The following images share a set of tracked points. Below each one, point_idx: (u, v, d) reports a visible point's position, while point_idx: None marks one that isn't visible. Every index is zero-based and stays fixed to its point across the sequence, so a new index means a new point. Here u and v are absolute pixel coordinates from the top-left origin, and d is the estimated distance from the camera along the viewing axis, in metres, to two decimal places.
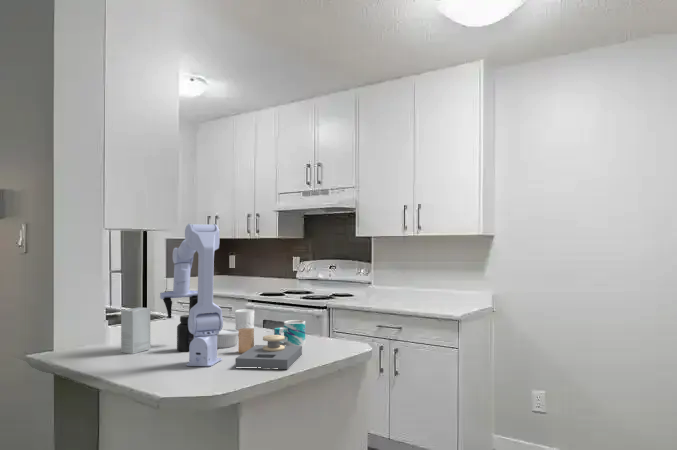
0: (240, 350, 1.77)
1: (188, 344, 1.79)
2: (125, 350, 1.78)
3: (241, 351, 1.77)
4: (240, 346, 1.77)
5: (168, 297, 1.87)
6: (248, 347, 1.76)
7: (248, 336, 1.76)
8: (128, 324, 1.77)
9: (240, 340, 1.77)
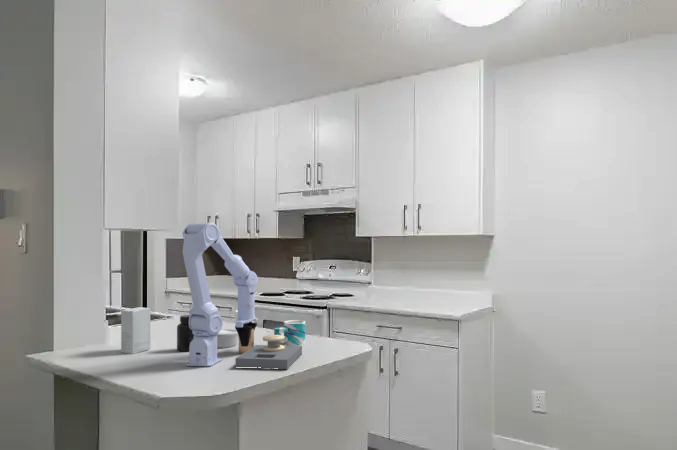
0: (240, 350, 1.77)
1: (188, 344, 1.79)
2: (125, 350, 1.78)
3: (241, 351, 1.77)
4: (240, 346, 1.77)
5: None
6: (248, 347, 1.76)
7: None
8: (128, 324, 1.77)
9: None
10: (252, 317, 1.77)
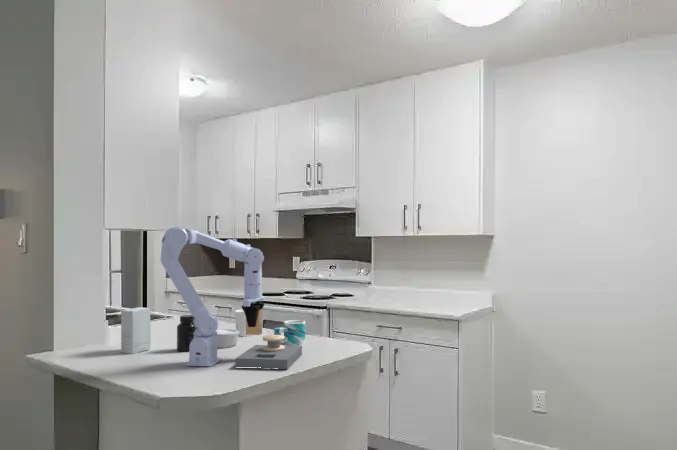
0: (247, 331, 1.68)
1: (188, 344, 1.79)
2: (125, 350, 1.78)
3: (249, 333, 1.68)
4: (247, 327, 1.68)
5: None
6: (256, 328, 1.68)
7: (256, 317, 1.68)
8: (128, 324, 1.77)
9: None
10: (259, 296, 1.68)
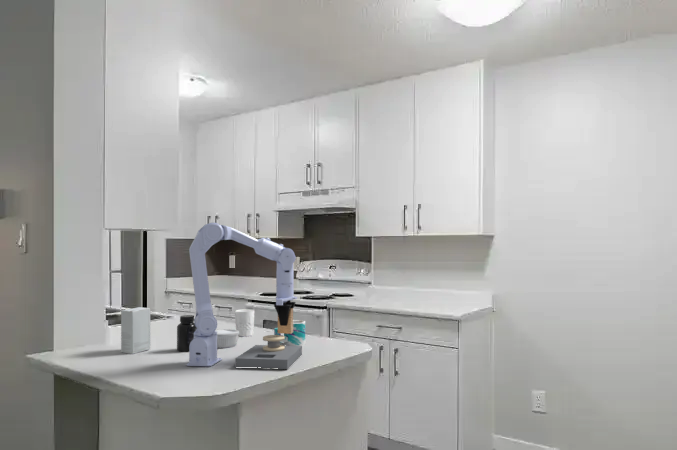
0: (279, 330, 1.71)
1: (188, 344, 1.79)
2: (125, 350, 1.78)
3: (281, 331, 1.71)
4: (279, 326, 1.71)
5: None
6: (288, 327, 1.71)
7: (288, 316, 1.71)
8: (128, 324, 1.77)
9: None
10: (291, 295, 1.71)
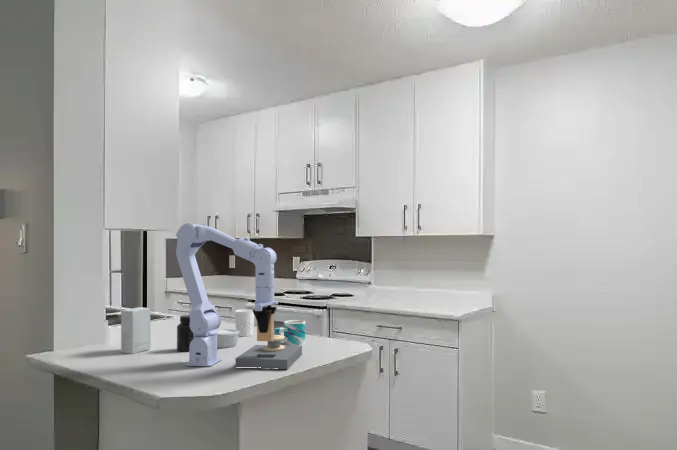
0: (259, 338, 1.57)
1: (188, 344, 1.79)
2: (125, 350, 1.78)
3: (260, 339, 1.57)
4: (259, 333, 1.57)
5: None
6: (268, 334, 1.57)
7: (268, 322, 1.57)
8: (128, 324, 1.77)
9: None
10: (272, 300, 1.58)
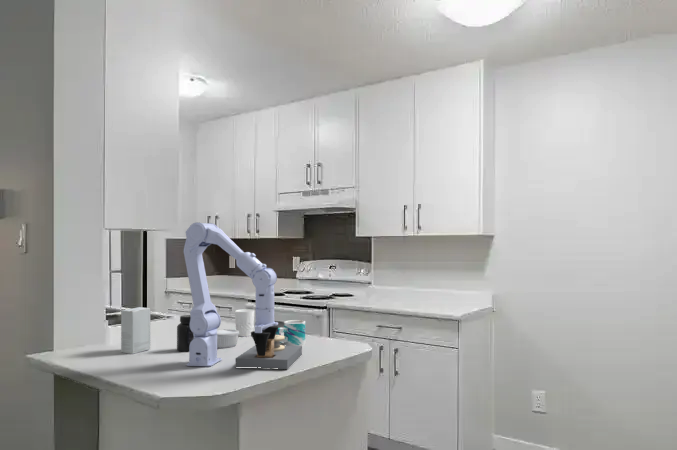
0: None
1: (188, 344, 1.79)
2: (125, 350, 1.78)
3: None
4: None
5: None
6: None
7: (268, 348, 1.57)
8: (128, 324, 1.77)
9: None
10: (272, 321, 1.57)
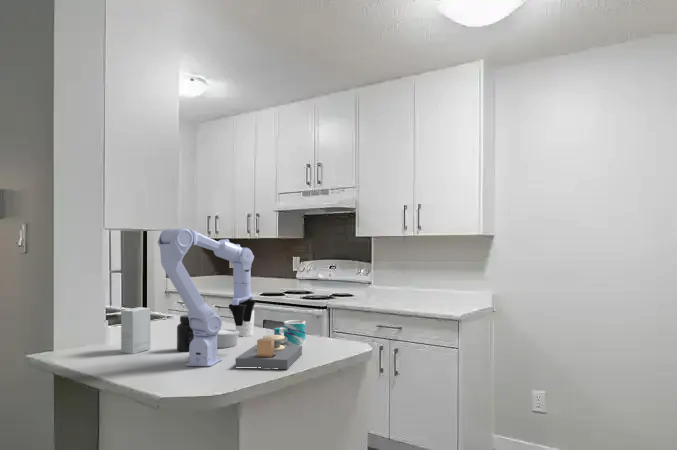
0: None
1: (188, 344, 1.79)
2: (125, 350, 1.78)
3: None
4: None
5: None
6: None
7: (268, 348, 1.57)
8: (128, 324, 1.77)
9: (259, 352, 1.57)
10: (248, 295, 1.73)
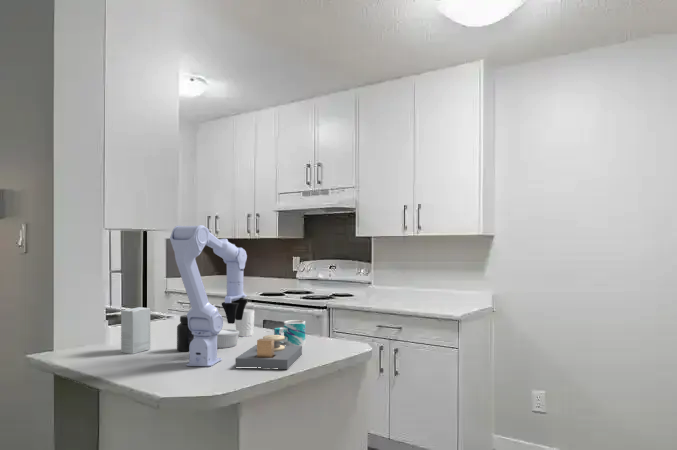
0: None
1: (188, 344, 1.79)
2: (125, 350, 1.78)
3: None
4: None
5: (238, 297, 1.84)
6: None
7: (268, 348, 1.57)
8: (128, 324, 1.77)
9: (259, 352, 1.57)
10: (241, 293, 1.78)
